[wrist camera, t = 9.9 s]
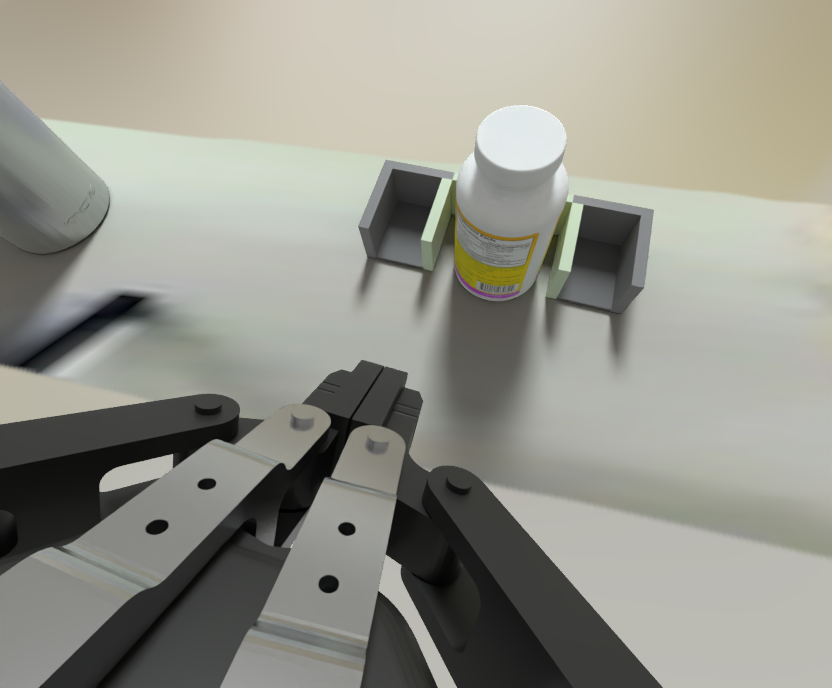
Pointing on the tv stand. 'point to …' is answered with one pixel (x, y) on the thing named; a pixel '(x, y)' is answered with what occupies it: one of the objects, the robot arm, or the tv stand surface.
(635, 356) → the tv stand surface
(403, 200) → the bay rack
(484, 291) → the supplement bottle
